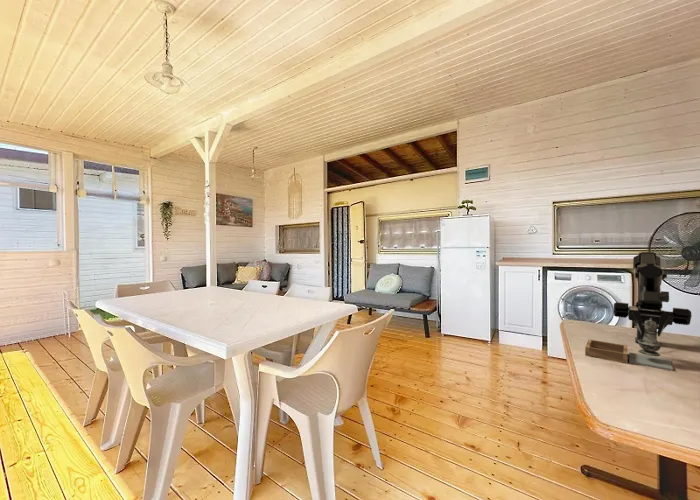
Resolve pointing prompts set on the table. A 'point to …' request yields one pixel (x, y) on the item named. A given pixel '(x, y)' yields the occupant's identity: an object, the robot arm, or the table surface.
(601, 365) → the table surface
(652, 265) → the robot arm
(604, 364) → the table surface
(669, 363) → the grey rubber mat
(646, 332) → the grey tall flared piece
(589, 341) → the walnut holder
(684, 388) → the table surface
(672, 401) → the table surface
